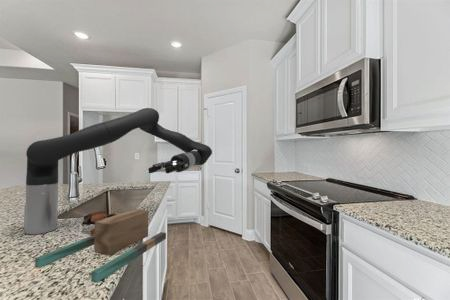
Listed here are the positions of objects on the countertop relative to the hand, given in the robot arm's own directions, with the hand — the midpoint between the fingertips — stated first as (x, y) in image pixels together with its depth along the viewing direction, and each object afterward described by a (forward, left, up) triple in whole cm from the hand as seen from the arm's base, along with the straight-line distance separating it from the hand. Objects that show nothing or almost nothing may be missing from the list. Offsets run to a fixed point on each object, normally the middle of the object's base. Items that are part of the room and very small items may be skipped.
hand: (157, 170), depth 84 cm
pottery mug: (-19, -8, -23) cm, 31 cm away
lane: (-2, -20, -22) cm, 30 cm away
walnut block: (-2, -14, -23) cm, 27 cm away
